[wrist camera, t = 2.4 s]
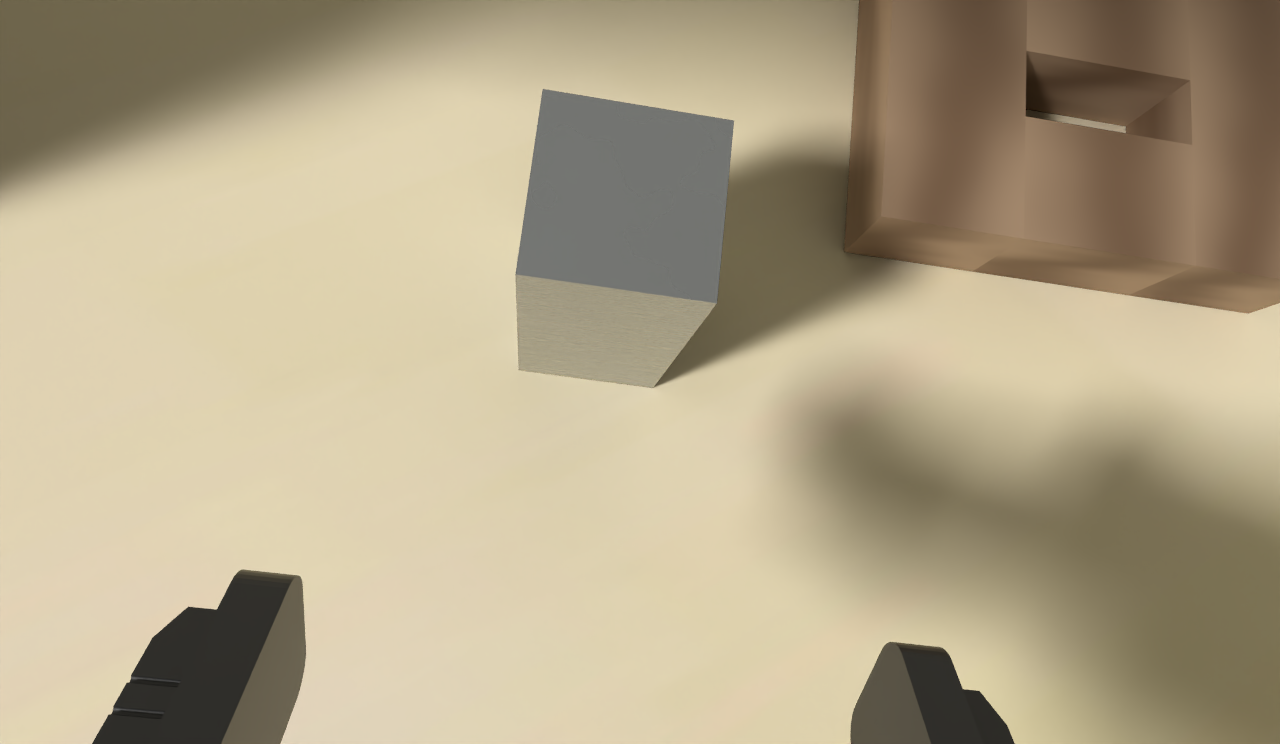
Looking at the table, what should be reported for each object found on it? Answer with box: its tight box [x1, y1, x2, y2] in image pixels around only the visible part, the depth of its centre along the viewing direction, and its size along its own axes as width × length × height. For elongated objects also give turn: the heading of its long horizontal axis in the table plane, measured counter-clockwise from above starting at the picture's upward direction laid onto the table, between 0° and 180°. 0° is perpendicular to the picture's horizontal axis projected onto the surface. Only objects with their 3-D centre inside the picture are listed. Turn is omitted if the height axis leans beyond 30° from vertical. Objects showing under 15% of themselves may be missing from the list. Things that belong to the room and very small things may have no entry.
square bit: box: [516, 89, 734, 388], centre depth 22 cm, size 4×4×9 cm
